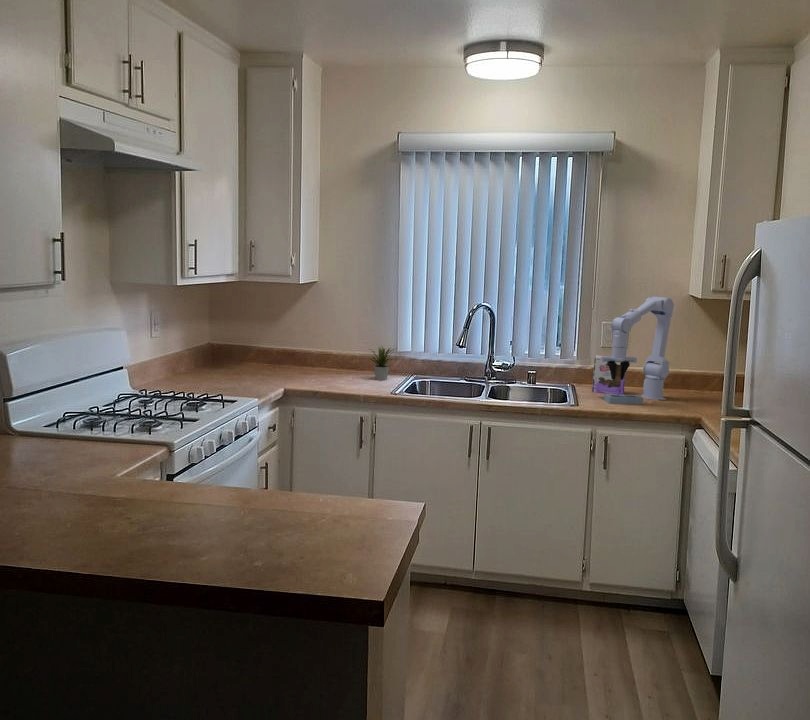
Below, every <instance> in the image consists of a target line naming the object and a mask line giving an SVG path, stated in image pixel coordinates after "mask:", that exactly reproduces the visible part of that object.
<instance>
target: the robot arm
mask: <svg viewBox="0 0 810 720" xmlns="http://www.w3.org/2000/svg"><path fill="white" fill-rule="evenodd" d="M673 301H674V300H673V299H672V298H671V297H663V296H654V295H650V296H649V297H647V298H646V299H645V302H644V303H642V304H641V305H640V306H638V307H637V308H636V309H635V308H630V309H628V311H627V312H625V314H623V313H622V314H621V316H620V317H618V316H617V317H615V318H614V319H613V320H612V321H611V324H610V328H611V333H612V347H611V348H612V351H611V356H610V357H601V361H602V362H607V364H608V366H609V369H610V372H611V379H613V380H615V370H616V365H617V364H615V362H620V365H622V372H621V380H623V378H624V375H625V376H626V374H625V373H627V371H628V369H629V368H630V366H631V363H634V364H635V363H637V361H638V358H637V357H631V356H630V357H629V356H627V348H628V335H629V332H631V330H632V328H633V326H634V325H636V324H638V322H640V321H641V319H642V317H643V316H645V315H646V314H648V313H651V314H653V316H655V318H656V319H657V321H656V326H655V327H656V328H655V333H654V338H653V345H652V349H651V354H650V355H649V356H648V357H646V358H645V363H644V364H643V367H642V373H643V375H644V377H645V379H644V380H643V386H642V387H643V388H642V394H640V397H642V398H644V399H648V400H658V401H666V400H667V399H666V398H665V397H663V395H664V384H665V383H664V381H665V380H666V378H667V377H668V376H669V374H670V368H669V367H670V362H669V360H668V359H667V358H666V357H665V355H666V349H667V342H668V339H669V338H668V337H669V331H670V325H671V320H672V318H673V313H674V306H675V303H674V302H673ZM614 360H624V361H614Z"/></svg>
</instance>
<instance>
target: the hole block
mask: <svg viewBox="0 0 810 720" xmlns="http://www.w3.org/2000/svg"><path fill="white" fill-rule="evenodd" d="M603 397H604V400H603V401H604V402H606V403H608V404H610V405H611V404H612V405H643V403H644V397H643V396H641V395H637V394H624V395H618V394H607V393H604V396H603Z"/></svg>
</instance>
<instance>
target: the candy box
mask: <svg viewBox="0 0 810 720" xmlns="http://www.w3.org/2000/svg"><path fill="white" fill-rule="evenodd" d="M601 357H611V356H606V355H597V354H596V355H595V356H594V363H593V373H592V389H591V392H592V393H596V394H612V395H625V385H626V373H627V372H626V373H625V375H624V378H623V380H621V386H620V387H613V379H611V372H610V369H609V366H608V364H607V362H602V361H601ZM614 361H624V360H614ZM615 364H617V365H620V362H615Z"/></svg>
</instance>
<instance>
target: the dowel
mask: <svg viewBox="0 0 810 720" xmlns="http://www.w3.org/2000/svg"><path fill="white" fill-rule="evenodd" d="M621 372H622V365H616V370H615V380H613V387H620V386H621Z"/></svg>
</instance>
